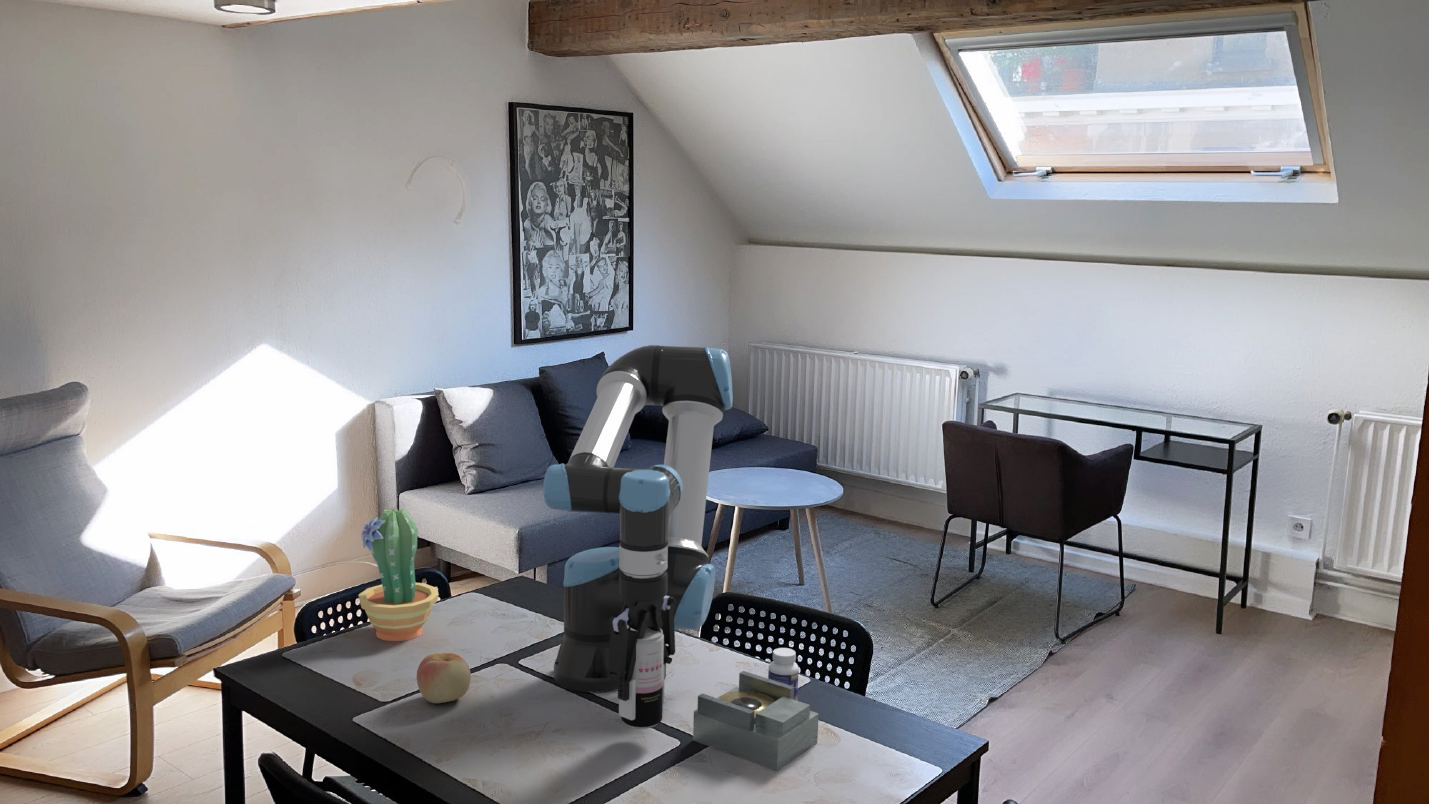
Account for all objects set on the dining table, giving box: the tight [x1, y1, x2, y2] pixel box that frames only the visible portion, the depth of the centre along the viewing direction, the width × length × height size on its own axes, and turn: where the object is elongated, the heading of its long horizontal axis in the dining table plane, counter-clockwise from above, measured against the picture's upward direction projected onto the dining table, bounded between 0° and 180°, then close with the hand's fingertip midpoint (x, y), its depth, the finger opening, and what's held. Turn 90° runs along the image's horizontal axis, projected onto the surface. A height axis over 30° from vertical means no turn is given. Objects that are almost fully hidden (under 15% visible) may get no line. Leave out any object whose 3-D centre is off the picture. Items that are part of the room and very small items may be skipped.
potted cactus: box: [358, 507, 440, 642], centre depth 217 cm, size 16×15×25 cm
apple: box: [416, 652, 472, 704], centre depth 188 cm, size 9×9×8 cm
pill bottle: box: [767, 647, 800, 701], centre depth 192 cm, size 5×5×9 cm
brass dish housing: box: [692, 670, 819, 772], centre depth 176 cm, size 16×13×8 cm
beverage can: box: [620, 628, 664, 730], centre depth 174 cm, size 6×6×15 cm
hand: (641, 708), depth 175 cm, fingers closed on beverage can, 6 cm apart
